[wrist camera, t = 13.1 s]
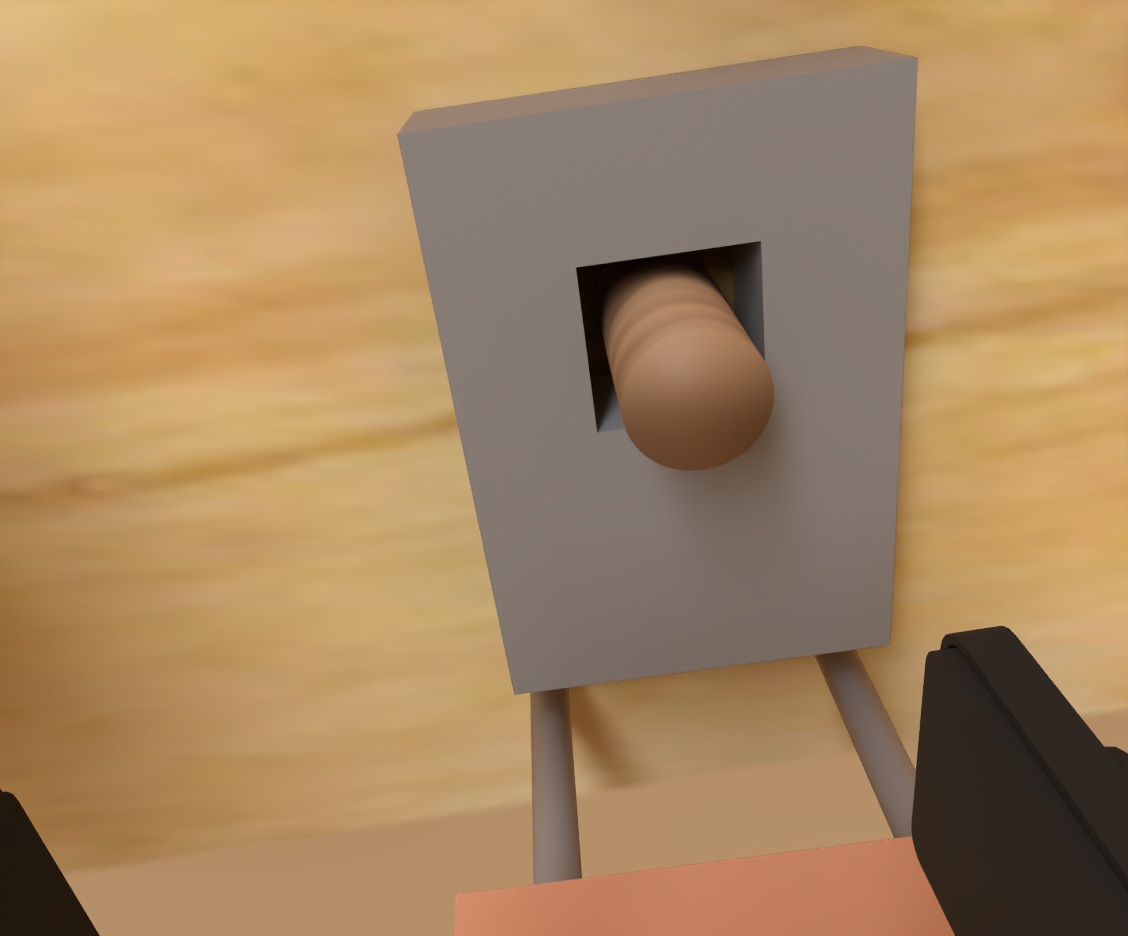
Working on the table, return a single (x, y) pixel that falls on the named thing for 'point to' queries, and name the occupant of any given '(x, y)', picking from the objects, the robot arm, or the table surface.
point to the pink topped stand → (730, 887)
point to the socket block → (589, 405)
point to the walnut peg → (681, 363)
